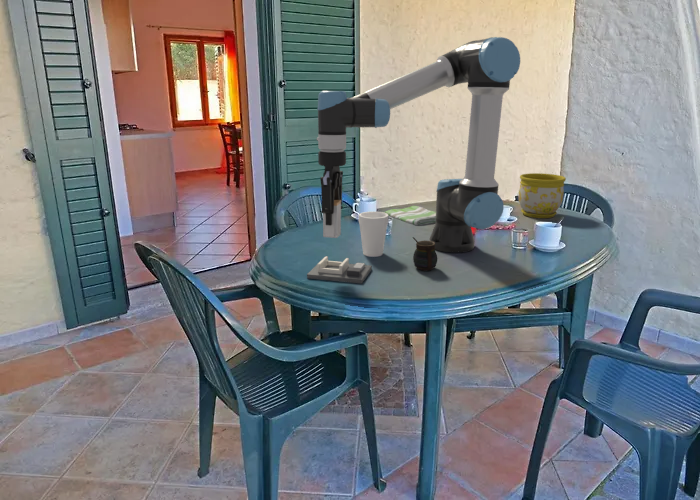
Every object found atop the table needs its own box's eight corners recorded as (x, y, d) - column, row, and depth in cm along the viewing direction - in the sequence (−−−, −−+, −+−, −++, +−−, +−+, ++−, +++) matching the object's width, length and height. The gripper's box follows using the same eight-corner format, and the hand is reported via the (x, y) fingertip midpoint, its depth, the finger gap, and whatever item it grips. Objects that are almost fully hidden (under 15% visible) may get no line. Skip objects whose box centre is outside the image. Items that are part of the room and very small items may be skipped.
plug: (340, 234, 146) (340, 200, 143) (336, 238, 143) (336, 203, 140) (327, 233, 147) (327, 199, 144) (323, 236, 144) (322, 202, 141)
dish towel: (415, 227, 200) (415, 218, 199) (383, 215, 219) (383, 207, 218) (449, 221, 208) (449, 213, 207) (415, 210, 227) (415, 202, 226)
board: (371, 269, 151) (371, 257, 150) (361, 283, 140) (361, 270, 139) (320, 264, 156) (320, 253, 154) (307, 278, 144) (306, 265, 143)
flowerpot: (509, 210, 225) (512, 173, 220) (548, 209, 227) (552, 172, 222) (527, 220, 208) (531, 180, 203) (569, 219, 210) (574, 179, 205)
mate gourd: (441, 271, 150) (442, 238, 147) (417, 274, 148) (418, 241, 145) (431, 263, 157) (432, 232, 154) (408, 266, 155) (408, 234, 152)
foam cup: (367, 259, 160) (367, 219, 156) (353, 251, 168) (353, 213, 164) (393, 255, 164) (394, 216, 160) (378, 248, 172) (379, 210, 168)
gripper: (328, 146, 147) (328, 225, 154) (308, 153, 131) (309, 240, 138) (353, 147, 145) (352, 227, 152) (336, 154, 129) (336, 242, 136)
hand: (332, 233), depth 145 cm, fingers closed on plug, 4 cm apart
